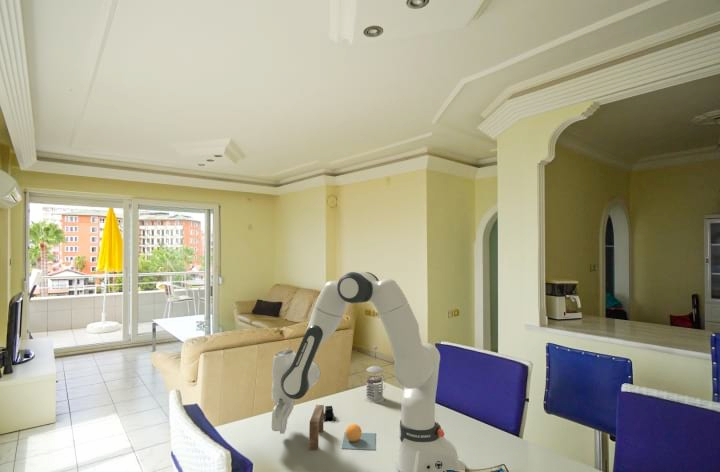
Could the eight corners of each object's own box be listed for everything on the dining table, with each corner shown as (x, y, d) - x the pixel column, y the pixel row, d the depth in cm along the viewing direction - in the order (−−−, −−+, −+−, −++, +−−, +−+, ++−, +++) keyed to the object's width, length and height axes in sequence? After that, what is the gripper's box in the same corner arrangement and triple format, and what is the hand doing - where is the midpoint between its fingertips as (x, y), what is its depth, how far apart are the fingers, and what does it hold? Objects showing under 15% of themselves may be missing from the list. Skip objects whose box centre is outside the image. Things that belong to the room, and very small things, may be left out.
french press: (375, 393, 189) (376, 342, 190) (391, 400, 180) (392, 347, 181) (360, 397, 183) (360, 345, 184) (375, 405, 174) (376, 350, 175)
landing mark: (375, 433, 147) (375, 433, 147) (375, 450, 135) (375, 449, 135) (344, 432, 148) (344, 432, 148) (341, 448, 136) (341, 448, 136)
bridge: (323, 430, 150) (323, 405, 150) (317, 450, 135) (317, 422, 135) (315, 429, 150) (316, 404, 150) (309, 449, 135) (309, 422, 135)
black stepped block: (339, 424, 156) (339, 413, 156) (321, 425, 155) (321, 414, 155) (335, 411, 168) (335, 401, 168) (318, 412, 167) (318, 402, 167)
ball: (349, 418, 145) (343, 432, 145) (348, 425, 139) (342, 440, 139) (364, 424, 145) (358, 439, 145) (363, 432, 139) (357, 447, 139)
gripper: (285, 405, 133) (284, 446, 132) (297, 385, 153) (296, 420, 153) (267, 405, 133) (266, 445, 133) (281, 384, 154) (281, 419, 153)
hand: (283, 431), depth 143 cm, fingers closed
